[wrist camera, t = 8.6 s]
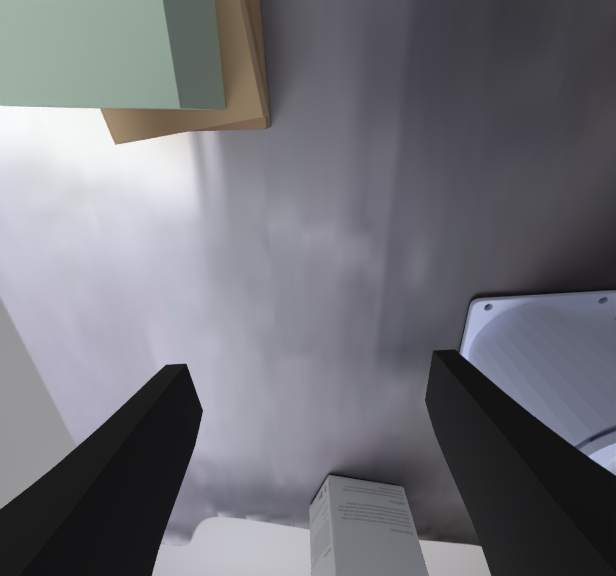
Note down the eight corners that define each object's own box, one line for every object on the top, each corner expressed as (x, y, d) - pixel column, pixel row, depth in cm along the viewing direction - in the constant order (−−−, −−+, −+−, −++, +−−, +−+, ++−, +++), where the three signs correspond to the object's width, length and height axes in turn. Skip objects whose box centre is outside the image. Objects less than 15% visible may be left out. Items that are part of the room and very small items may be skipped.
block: (207, -69, 9) (127, -216, 5) (225, 110, 11) (180, 107, 7) (51, -72, 9) (-156, -222, 5) (100, 108, 11) (-17, 104, 7)
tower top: (234, -71, 11) (215, -119, 8) (270, 116, 13) (263, 116, 11) (80, -35, 11) (24, -70, 9) (146, 139, 14) (115, 144, 12)
